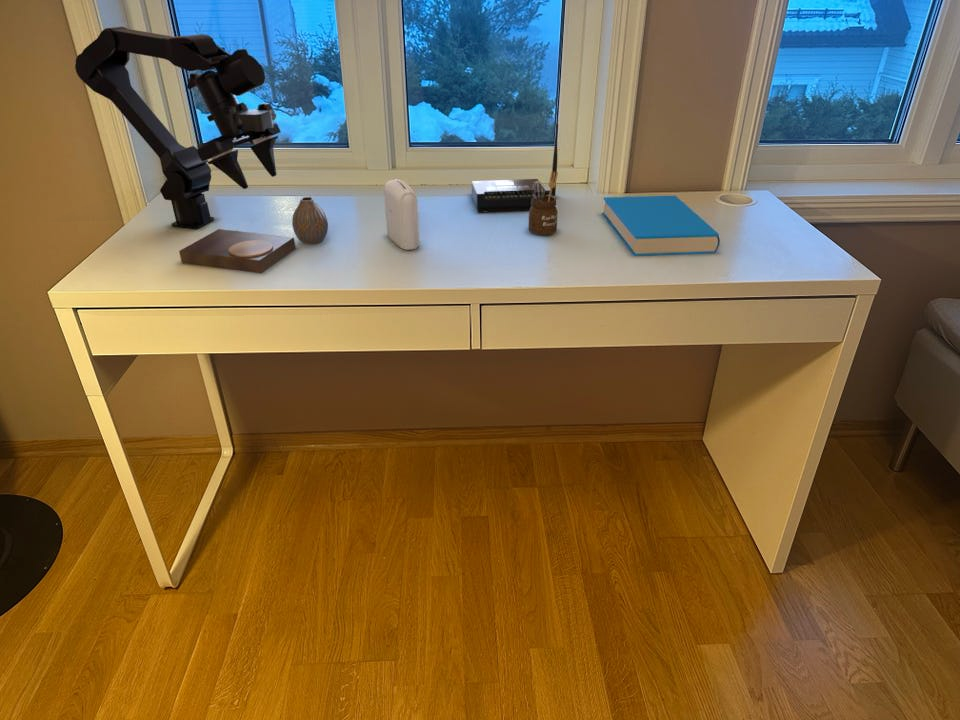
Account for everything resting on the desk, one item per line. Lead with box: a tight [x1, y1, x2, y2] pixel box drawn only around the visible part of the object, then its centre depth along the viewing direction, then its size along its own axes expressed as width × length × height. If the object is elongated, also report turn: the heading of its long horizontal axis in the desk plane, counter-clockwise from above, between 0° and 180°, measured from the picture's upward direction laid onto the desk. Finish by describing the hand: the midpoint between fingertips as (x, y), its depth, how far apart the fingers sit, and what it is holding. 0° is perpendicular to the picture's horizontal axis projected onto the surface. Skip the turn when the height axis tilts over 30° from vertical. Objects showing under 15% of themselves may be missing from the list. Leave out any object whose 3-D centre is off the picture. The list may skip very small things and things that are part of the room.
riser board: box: [178, 228, 297, 274], centre depth 130 cm, size 17×12×3 cm
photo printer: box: [383, 178, 420, 251], centre depth 134 cm, size 10×4×12 cm, turn 26°
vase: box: [291, 196, 329, 245], centre depth 135 cm, size 7×7×9 cm
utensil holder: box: [528, 170, 559, 237], centre depth 139 cm, size 6×6×12 cm
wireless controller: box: [471, 123, 559, 214], centre depth 155 cm, size 20×14×17 cm
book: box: [601, 195, 721, 257], centre depth 141 cm, size 17×4×25 cm
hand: (260, 182), depth 135 cm, fingers open, 9 cm apart
